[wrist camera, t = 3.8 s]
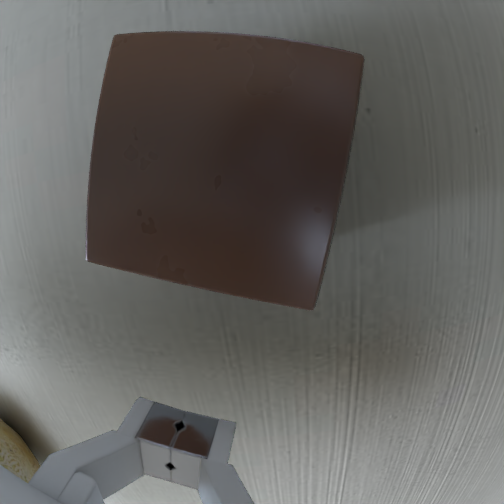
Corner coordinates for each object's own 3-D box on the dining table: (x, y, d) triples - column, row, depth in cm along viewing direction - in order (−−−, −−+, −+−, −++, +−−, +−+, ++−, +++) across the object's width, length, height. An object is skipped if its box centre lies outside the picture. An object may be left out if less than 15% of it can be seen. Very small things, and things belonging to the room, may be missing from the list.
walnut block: (185, 80, 10) (112, 33, 5) (332, 101, 9) (365, 53, 5) (164, 220, 11) (84, 262, 6) (304, 246, 11) (314, 313, 6)
